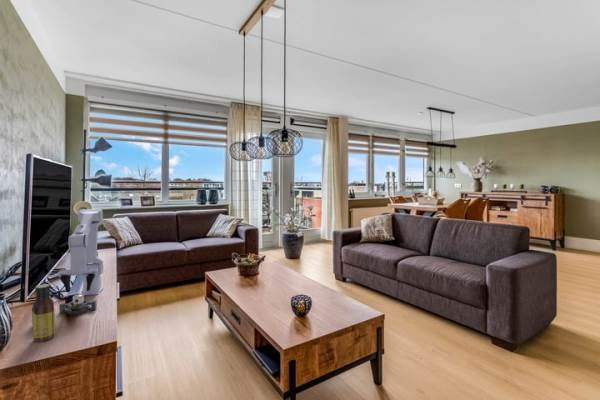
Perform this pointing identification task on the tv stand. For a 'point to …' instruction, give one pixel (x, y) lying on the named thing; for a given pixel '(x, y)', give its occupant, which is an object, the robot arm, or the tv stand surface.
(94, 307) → the collar stand
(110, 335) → the tv stand surface
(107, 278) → the tv stand surface
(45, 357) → the tv stand surface
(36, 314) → the sauce bottle
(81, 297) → the air tube
